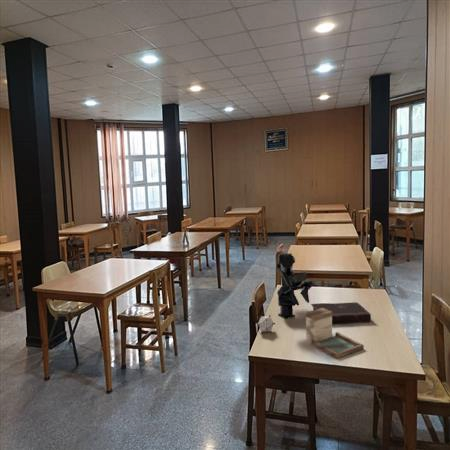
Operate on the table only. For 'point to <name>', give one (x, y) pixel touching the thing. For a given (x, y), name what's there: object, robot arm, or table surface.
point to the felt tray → (338, 345)
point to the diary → (345, 312)
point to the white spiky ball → (265, 323)
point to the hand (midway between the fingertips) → (303, 303)
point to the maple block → (319, 324)
